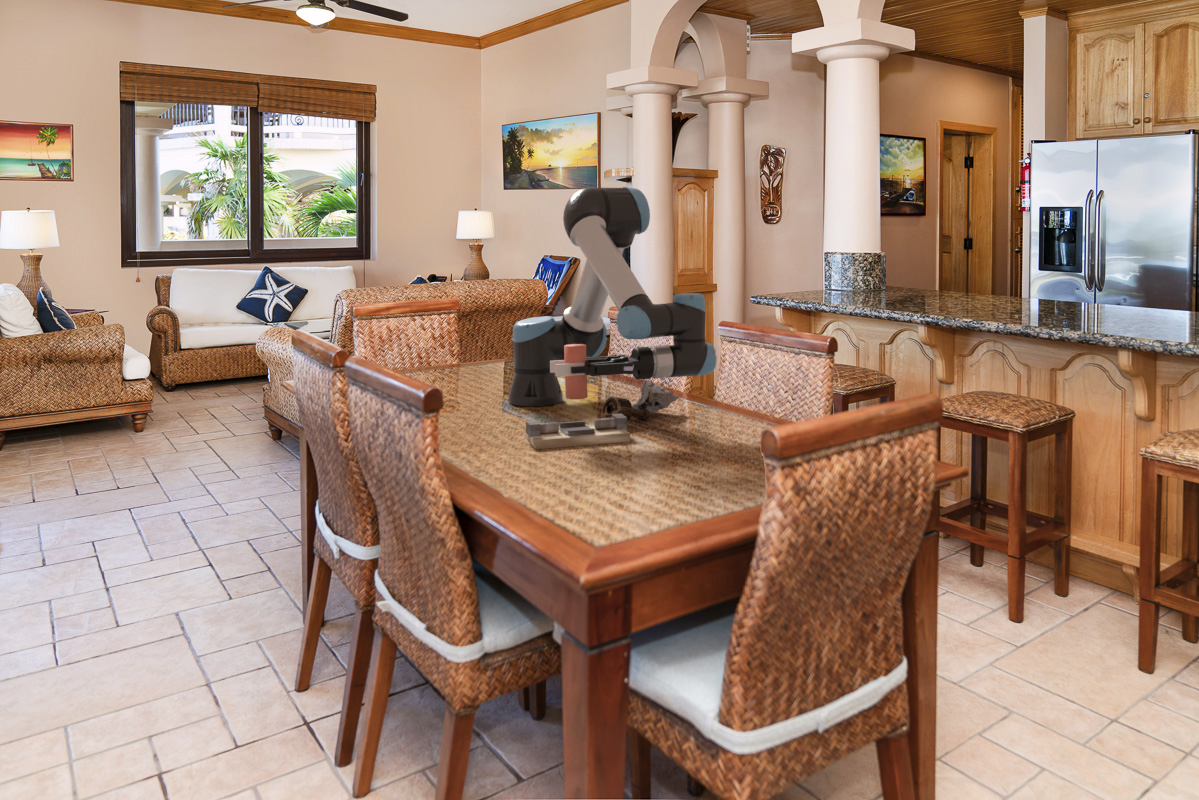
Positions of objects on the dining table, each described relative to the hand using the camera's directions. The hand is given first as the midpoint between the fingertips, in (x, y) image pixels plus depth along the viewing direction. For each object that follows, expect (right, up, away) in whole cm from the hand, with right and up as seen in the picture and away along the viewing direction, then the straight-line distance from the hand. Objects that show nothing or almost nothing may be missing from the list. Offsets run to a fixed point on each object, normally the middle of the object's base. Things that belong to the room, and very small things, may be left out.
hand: (553, 368), depth 204 cm
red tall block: (+5, -7, +3) cm, 9 cm away
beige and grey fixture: (+5, -16, +5) cm, 18 cm away
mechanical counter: (+18, -13, +21) cm, 30 cm away
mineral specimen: (+24, -10, +31) cm, 40 cm away
